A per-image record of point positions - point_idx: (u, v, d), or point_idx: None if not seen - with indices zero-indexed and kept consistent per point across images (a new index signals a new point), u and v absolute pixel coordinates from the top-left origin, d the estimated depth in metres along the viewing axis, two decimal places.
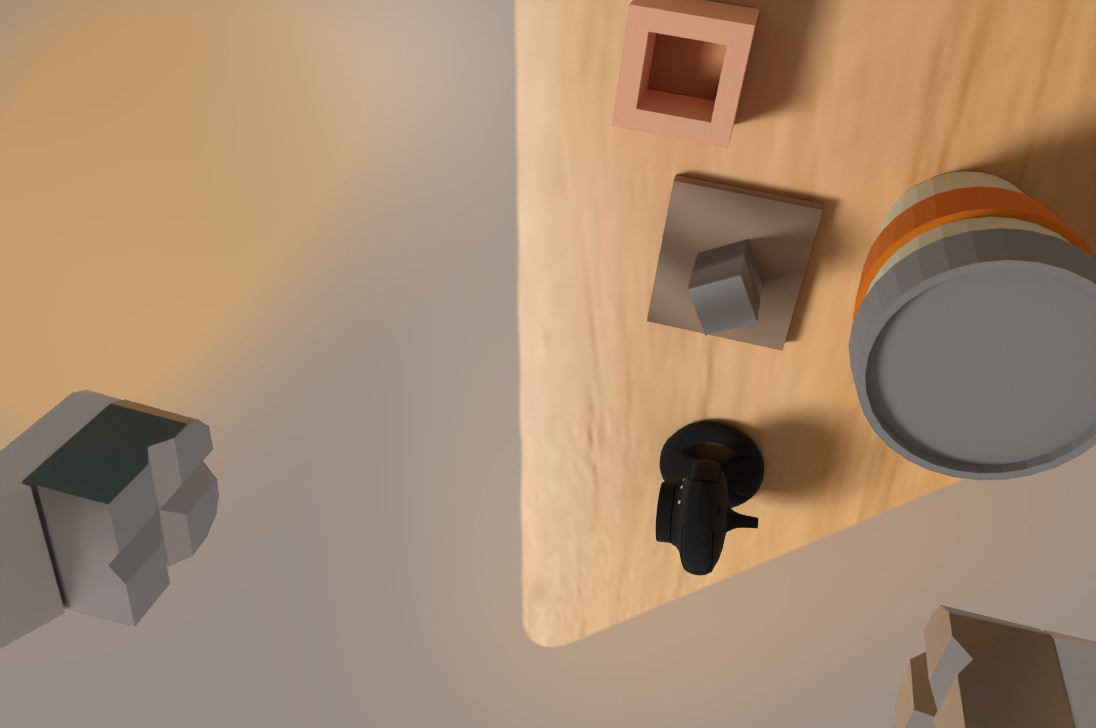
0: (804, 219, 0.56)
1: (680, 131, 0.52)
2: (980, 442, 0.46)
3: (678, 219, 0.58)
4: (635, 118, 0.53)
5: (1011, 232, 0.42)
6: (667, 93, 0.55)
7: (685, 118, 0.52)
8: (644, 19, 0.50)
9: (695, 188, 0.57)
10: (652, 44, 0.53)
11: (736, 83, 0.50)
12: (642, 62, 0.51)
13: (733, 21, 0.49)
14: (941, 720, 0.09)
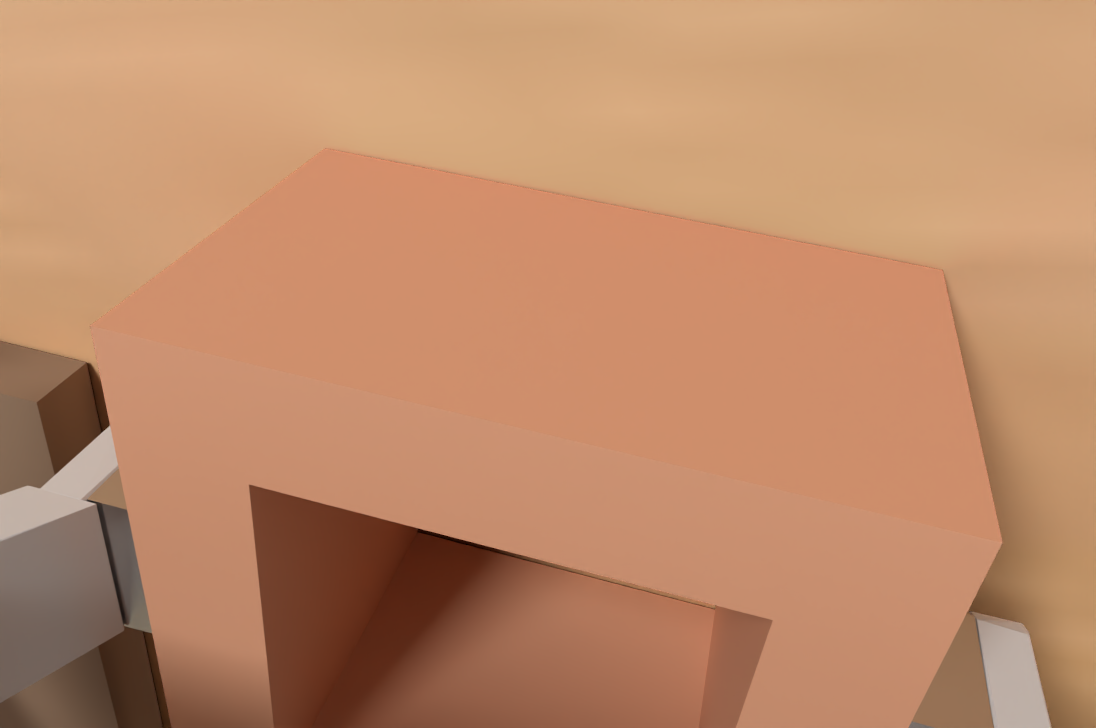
0: None
1: (194, 670, 0.09)
2: None
3: None
4: (188, 473, 0.08)
5: None
6: None
7: (266, 699, 0.09)
8: (861, 610, 0.07)
9: (43, 477, 0.13)
10: None
11: None
12: (557, 557, 0.07)
13: None
14: None
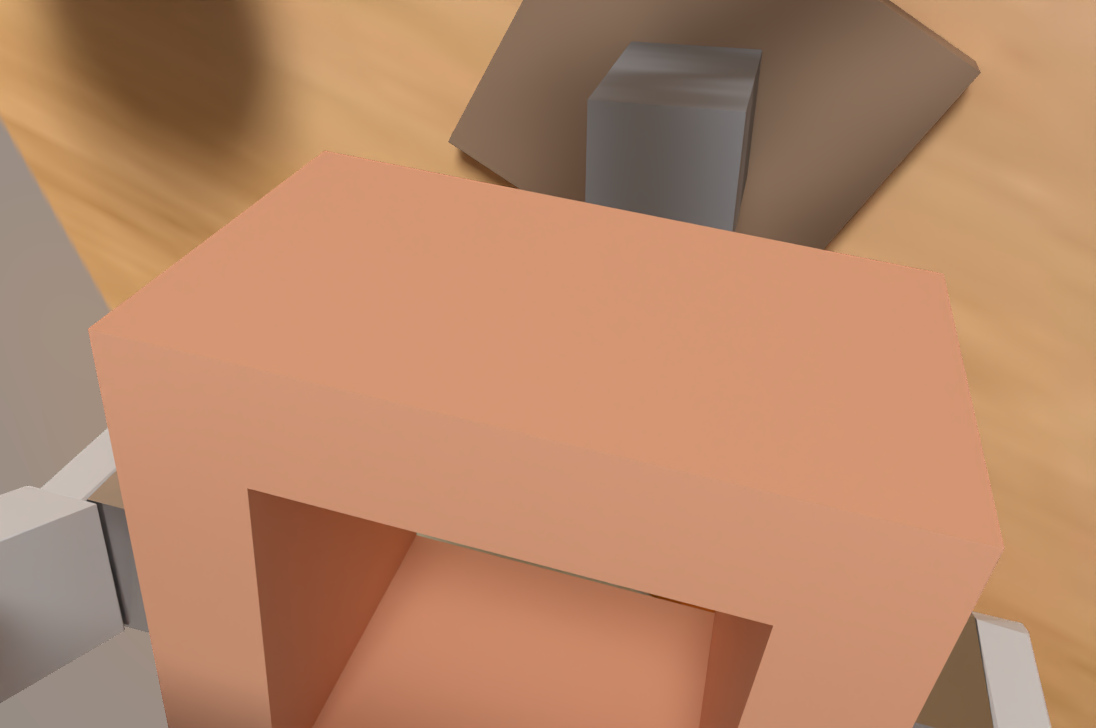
0: None
1: (192, 675, 0.09)
2: None
3: (872, 40, 0.22)
4: (186, 477, 0.08)
5: None
6: None
7: (264, 704, 0.09)
8: (862, 616, 0.07)
9: (929, 115, 0.22)
10: None
11: None
12: (556, 562, 0.07)
13: None
14: None
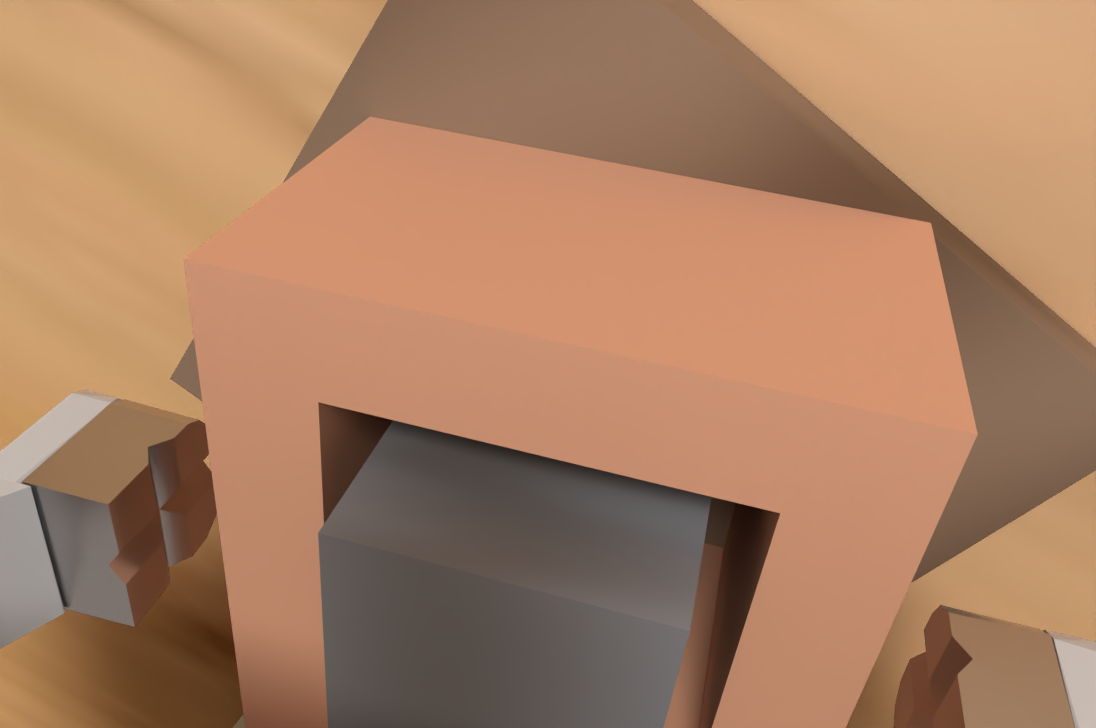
0: None
1: (257, 582, 0.10)
2: None
3: None
4: (263, 394, 0.09)
5: None
6: None
7: None
8: (858, 500, 0.08)
9: (1044, 481, 0.12)
10: None
11: None
12: (591, 461, 0.08)
13: None
14: (941, 720, 0.09)
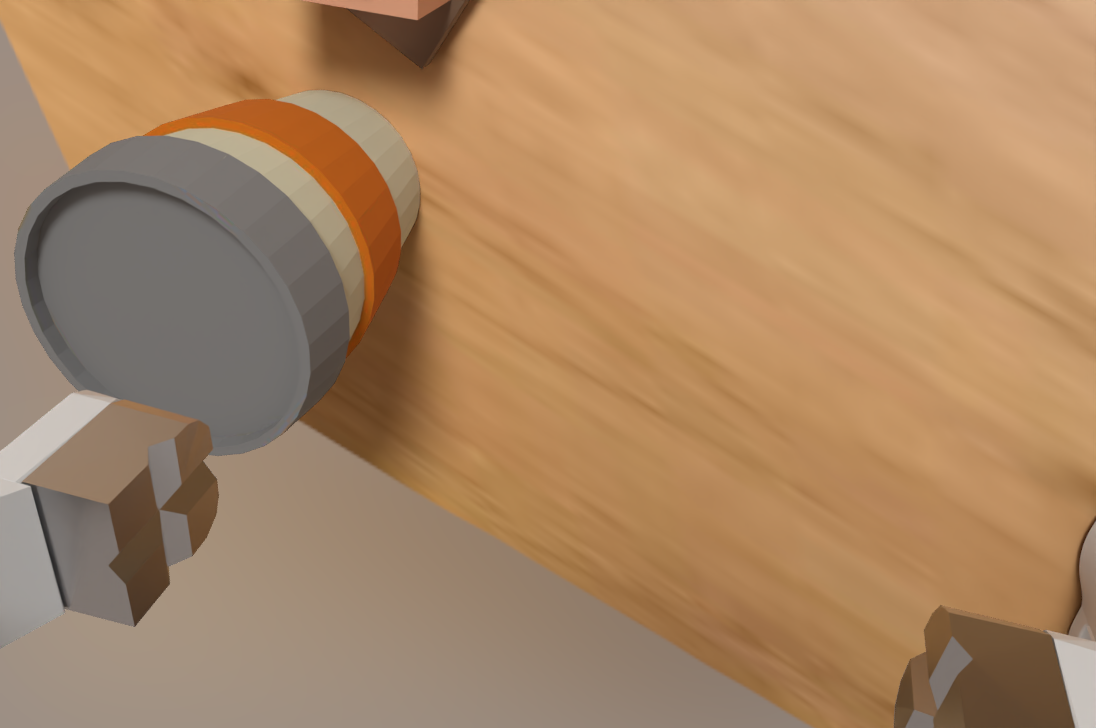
0: (416, 41, 0.41)
1: None
2: (69, 266, 0.35)
3: None
4: None
5: (336, 373, 0.37)
6: None
7: None
8: None
9: None
10: None
11: (344, 0, 0.37)
12: None
13: None
14: (941, 720, 0.09)
